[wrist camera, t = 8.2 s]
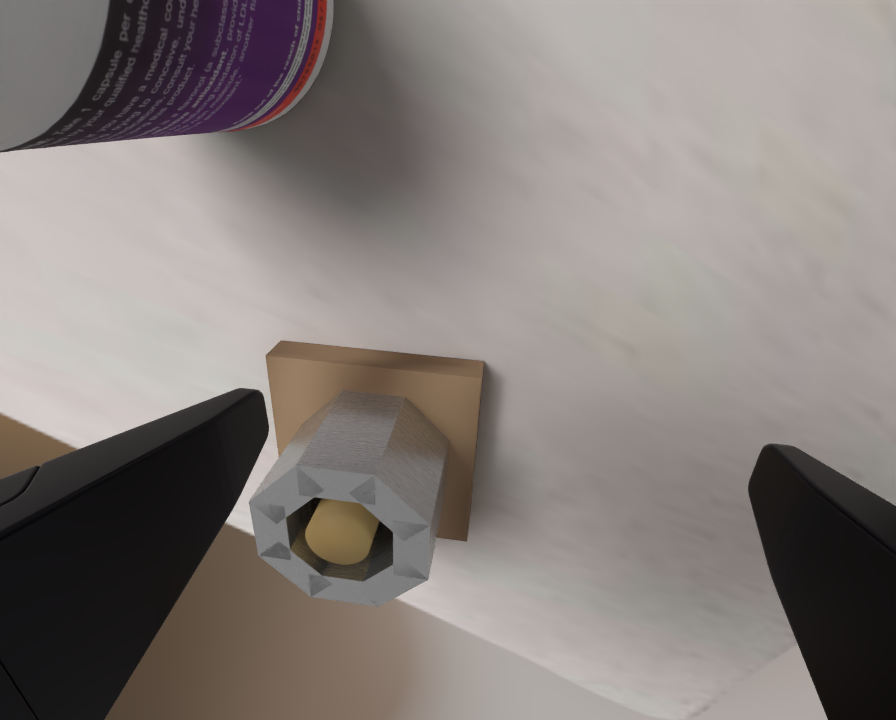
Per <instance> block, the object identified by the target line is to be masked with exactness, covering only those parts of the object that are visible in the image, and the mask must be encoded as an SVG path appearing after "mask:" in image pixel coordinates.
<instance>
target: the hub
mask: <svg viewBox="0 0 896 720" xmlns="http://www.w3.org/2000/svg"><path fill="white" fill-rule="evenodd" d="M448 446H449V439H448V438H447V437H446V436H445V435H444V434H443V433H442V432H441V431H440V430H439V429H438V428H437V427H436V426H435V425H434V424H433V423H432V422H431V421H430V420H429V419H428V418H427V417H426V416H425V415H424V414H423V413H422V412H421V411H419V410H418V409H417V408H416V407H415V406H414V405H413V404H412V403H411V402H410V401H409V400H408V399H407V398H406V397H402V396H393V395H384V394H375V393H365V392H356V391H347V390H342V391H341V392H340V393H339V394H337V395H336V396H335V397H334V398H333V399H331V400H330V401H329V402H328V403H326V404H325V405H324V406H323V407H322V408H320V409H319V410H318V411H317V412H315V413H314V414H313V415H312V416H311V417H309V418H308V419H307V420H306V421H304V422H303V423H302V425H301V426H300V428H299V429H298V431H297V432H296V434H295V435H294V436H293V438H292V439H291V441H290V442H289V444H288V445H287V447H286V448H285V450H284V451H283V452H282V454H281V455H280V457H279V458H278V460H277V461H276V463H275V464H274V466H273V467H272V469H271V470H270V471H269V473H268V474H267V476H266V477H265V479H264V480H263V482H262V483H261V485H260V486H259V487H258V489H257V490H256V492H255V493H254V495H253V496H252V498H251V499H250V501H249V505H250V511H251V516H252V522H253V528H254V533H255V539H256V545H257V550H258V556H260V557H261V558H262V559H263V560H265V561H266V562H267V563H269V564H270V565H271V566H272V567H274V568H275V569H276V570H278V571H279V572H280V573H281V574H283V575H284V576H285V577H286V578H288V579H289V580H290V581H292V582H293V583H294V584H295V585H297V586H298V587H299V588H300V589H302V590H303V591H304V592H306V593H307V594H308V595H310V596H311V597H317V598H323V599H330V600H336V601H343V602H350V603H356V604H363V605H370V606H377V607H379V606H380V605H382V604H384V603H386V602H388V601H389V600H391V599H393V598H395V597H397V596H399V595H401V594H403V593H404V592H406V591H408V590H410V589H412V588H414V587H416V586H417V585H419V584H421V583H423V582H425V581H427V580H428V578H429V573H430V568H431V563H432V557H433V552H434V547H435V542H436V537H437V532H438V527H439V522H440V517H441V511H442V506H443V501H444V496H445V491H446V480H447V463H448ZM321 498H324V499H332V500H340V501H348V502H355V503H361V504H362V505H363V506H364V507H365V508H366V509H367V510H368V511H370V512H371V513H372V514H373V515H374V516H375V517H376V518H378V519H379V520H380V521H379V524H378V527H377V530H376V533H375V536H374V539H373V542H372V545H371V547H370V550H369V553H368V555H367V556H366V557H365V558H364V559H363V560H362V561H360V562H358V563H355V564H349V565H342V564H335V563H332V562H329V561H326V560H324V559H322V558H321V557H319V556H318V555H317V554H315V553H314V552H313V551H312V550H311V548H310V547H309V545H308V543H307V541H306V537H305V532H306V528H307V526H308V524H309V522H310V520H311V518H312V516H313V514H314V512H315V510H316V508H317V506H318V504H319V502H320V500H321Z"/></svg>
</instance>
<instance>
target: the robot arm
mask: <svg viewBox="0 0 896 720" xmlns="http://www.w3.org/2000/svg"><path fill="white" fill-rule="evenodd" d="M268 432H269V424H268V418H267V412H266V406H265V401H264V396H263V394H262V392H260V391H259V390H255V389H246V388H238V389H235V390H233V391H230V392H227V393H225V394H222V395H220V396H217V397H214V398H212V399H209V400H207V401H204V402H201V403H199V404H196V405H193V406H191V407H188V408H186V409H183V410H180V411H178V412H175V413H173V414H170V415H167V416H165V417H162V418H159V419H157V420H154V421H152V422H149V423H146V424H144V425H141V426H139V427H136V428H133V429H131V430H128V431H125V432H123V433H120V434H118V435H115V436H112V437H110V438H107V439H105V440H102V441H99V442H97V443H94V444H91V445H89V446H86V447H84V448H81V449H78V450H76V451H73V452H71V453H68V454H65V455H63V456H60V457H57V458H55V459H52V460H50V461H47V462H44V463H43V464H42V465H41V466H34V467H31V468H29V469H26V470H23V471H21V472H18V473H15V474H13V475H10V476H8V477H5V478H2V479H0V720H104V719H105V718H106V716H107V714H108V713H109V711H110V709H111V708H112V706H113V705H114V703H115V701H116V700H117V698H118V696H119V695H120V693H121V691H122V690H123V688H124V687H125V685H126V683H127V682H128V680H129V678H130V677H131V675H132V673H133V672H134V670H135V669H136V667H137V665H138V664H139V662H140V660H141V659H142V657H143V656H144V654H145V652H146V651H147V649H148V647H149V646H150V644H151V642H152V641H153V639H154V638H155V636H156V634H157V632H158V631H159V629H160V628H161V626H162V624H163V623H164V621H165V620H166V618H167V616H168V615H169V613H170V611H171V610H172V608H173V606H174V605H175V603H176V602H177V600H178V598H179V597H180V595H181V593H182V592H183V590H184V588H185V587H186V585H187V584H188V582H189V580H190V579H191V577H192V575H193V574H194V572H195V570H196V569H197V567H198V565H199V564H200V562H201V561H202V559H203V557H204V556H205V554H206V552H207V551H208V549H209V548H210V546H211V544H212V543H213V541H214V539H215V538H216V536H217V534H218V533H219V531H220V530H221V528H222V526H223V525H224V523H225V521H226V520H227V518H228V516H229V515H230V513H231V511H232V510H233V508H234V506H235V504H236V502H237V501H238V499H239V497H240V495H241V493H242V491H243V488H244V486H245V484H246V482H247V480H248V478H249V476H250V473H251V471H252V469H253V467H254V465H255V463H256V461H257V459H258V456H259V454H260V452H261V450H262V448H263V446H264V444H265V442H266V439H267V437H268ZM748 492H749V498H750V501H751V505H752V509H753V512H754V516H755V520H756V523H757V527H758V531H759V534H760V538H761V542H762V545H763V549H764V553H765V557H766V560H767V564H768V567H769V570H770V574H771V577H772V580H773V582H774V585H775V588H776V590H777V593H778V595H779V598H780V600H781V603H782V605H783V608H784V610H785V613H786V616H787V618H788V621H789V623H790V626H791V628H792V631H793V633H794V636H795V638H796V641H797V643H798V646H799V648H800V650H801V653H802V656H803V658H804V661H805V663H806V666H807V668H808V671H809V673H810V676H811V678H812V681H813V683H814V685H815V688H816V691H817V693H818V696H819V698H820V701H821V703H822V706H823V708H824V711H825V713H826V716H827V718H828V720H896V506H895V505H893V504H891V503H890V502H888V501H886V500H885V499H883V498H881V497H879V496H878V495H876V494H874V493H873V492H871V491H869V490H868V489H866V488H864V487H862V486H861V485H859V484H857V483H856V482H854V481H852V480H851V479H849V478H847V477H845V476H844V475H842V474H840V473H839V472H837V471H835V470H834V469H832V468H830V467H829V466H827V465H825V464H823V463H822V462H820V461H818V460H817V459H815V458H813V457H812V456H810V455H808V454H806V453H805V452H803V451H801V450H800V449H798V448H796V447H794V446H789V445H780V444H767V445H765V446H764V447H763V448H762V450H761V452H760V454H759V457H758V460H757V462H756V465H755V467H754V470H753V472H752V475H751V478H750V481H749V485H748Z"/></svg>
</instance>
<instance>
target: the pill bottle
mask: <svg viewBox="0 0 896 720" xmlns="http://www.w3.org/2000/svg"><path fill="white" fill-rule="evenodd" d="M333 9H334V0H0V152H8V151H15V150H24V149H36V148H47V147H56V146H66V145H77V144H88V143H98V142H109V141H120V140H131V139H142V138H153V137H164V136H176V135H188V134H200V133H214V132H231V131H237V130H243V129H250V128H254V127H257V126H261V125H264V124H266V123H269V122H271V121H273V120H275V119H277V118H279V117H280V116H282V115H284V114H285V113H286V112H288V111H289V110H290V109H291V108H293V107H294V106H295V105H296V104H297V103H298V102H299V101H300V100H301V99H302V98H303V96H304V95H305V94H306V93H307V91H308V90H309V89H310V87H311V86H312V84H313V82H314V81H315V79H316V77H317V76H318V73H319V71H320V69H321V67H322V64H323V62H324V59H325V56H326V53H327V50H328V46H329V41H330V37H331V31H332V25H333Z"/></svg>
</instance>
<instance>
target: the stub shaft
mask: <svg viewBox="0 0 896 720" xmlns="http://www.w3.org/2000/svg"><path fill="white" fill-rule="evenodd" d="M266 362H267V370H268V377H269V385H270V393H271V400H272V408H273V416H274V423H275V431H276V438H277V446H278V454H279V457H280V455H281V454H282V452H283V451H284V450H285V448H286V447H287V445H288V444H289V442H290V441H291V439H292V438H293V436H294V435H295V434H296V432H297V431H298V429H299V428H300V426H301V425H302V423H303V422H304V421H306V420H307V419H308V418H309V417H311V416H312V415H313V414H314V413H315V412H317V411H318V410H319V409H320V408H322V407H323V406H324V405H325V404H326V403H328V402H329V401H330V400H331V399H333V398H334V397H335V396H336V395H337V394H339V393H340V392H341V391H342V390H347V391H356V392H365V393H375V394H384V395H393V396H402V397H406V398H407V399H408V400H409V401H410V402H411V403H412V404H413V405H414V406H415V407H416V408H417V409H418V410H419V411H421V412H422V413H423V414H424V415H425V416H426V417H427V418H428V419H429V420H430V421H431V422H432V423H433V424H434V425H435V426H436V427H437V428H438V429H439V430H440V431H441V432H442V433H443V434H444V435H445V436H446V437H447V438H448V439H449V446H448V463H447V480H446V491H445V496H444V501H443V506H442V511H441V517H440V522H439V527H438V532H437V537H438V538H445V539H452V540H460V541H467V536H468V528H469V520H470V509H471V498H472V487H473V476H474V465H475V454H476V444H477V433H478V422H479V411H480V400H481V389H482V378H483V367H484V361H475V360H466V359H456V358H446V357H436V356H426V355H417V354H407V353H397V352H387V351H378V350H368V349H358V348H348V347H338V346H329V345H319V344H309V343H299V342H289V341H280V342H279V343H278V344H277V345H276V346H275V347H274V348H273V349H272V350H271V351H270V352H269V353H268V354H267V355H266ZM379 521H380V520H379V519H378V518H376V517H375V516H374V515H373V514H372V513H371V512H370V511H368V510H367V509H366V508H365V507H364V506H363V505H362V504H361V503H355V502H348V501H340V500H332V499H324V498H321V500H320V502H319V504H318V506H317V508H316V510H315V512H314V514H313V516H312V518H311V520H310V522H309V524H308V526H307V528H306V532H305V537H306V541H307V543H308V545H309V547H310V548H311V550H312V551H313V552H314V553H315V554H317V555H318V556H319V557H321V558H322V559H324V560H326V561H329V562H332V563H335V564H342V565H349V564H355V563H358V562H360V561H362V560H363V559H364V558H365V557H366V556H367V555H368V553H369V550H370V547H371V545H372V542H373V539H374V536H375V533H376V530H377V527H378V524H379Z"/></svg>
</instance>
